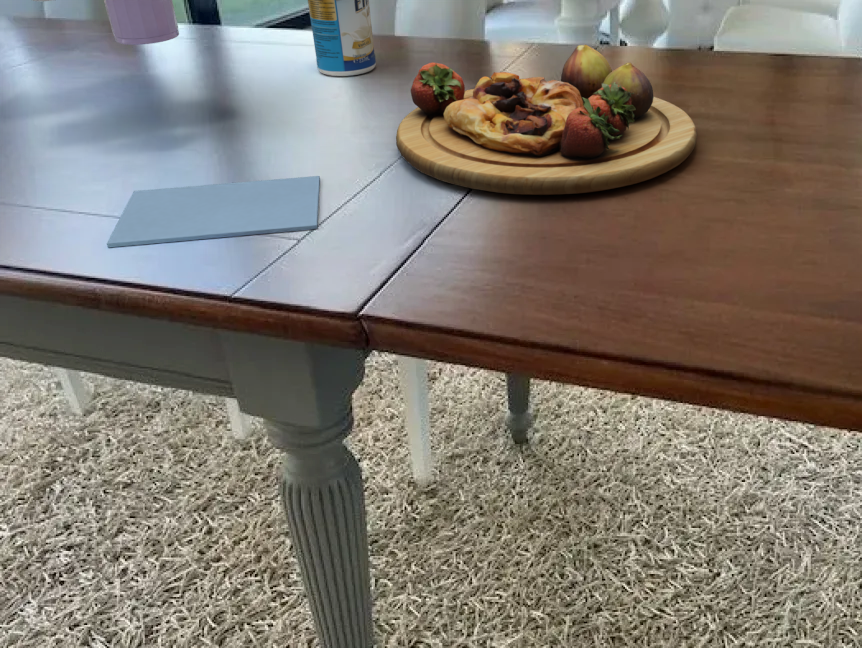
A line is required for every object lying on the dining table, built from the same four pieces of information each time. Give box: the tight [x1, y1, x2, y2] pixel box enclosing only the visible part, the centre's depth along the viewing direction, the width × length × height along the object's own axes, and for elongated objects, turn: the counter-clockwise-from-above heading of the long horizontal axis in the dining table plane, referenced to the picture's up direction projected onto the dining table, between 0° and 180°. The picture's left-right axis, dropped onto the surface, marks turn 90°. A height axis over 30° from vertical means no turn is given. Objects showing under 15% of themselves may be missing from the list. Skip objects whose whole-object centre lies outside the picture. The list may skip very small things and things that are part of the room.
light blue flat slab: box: [106, 175, 321, 248], centre depth 80 cm, size 18×12×1 cm, turn 99°
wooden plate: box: [395, 44, 698, 196], centre depth 90 cm, size 32×32×8 cm
